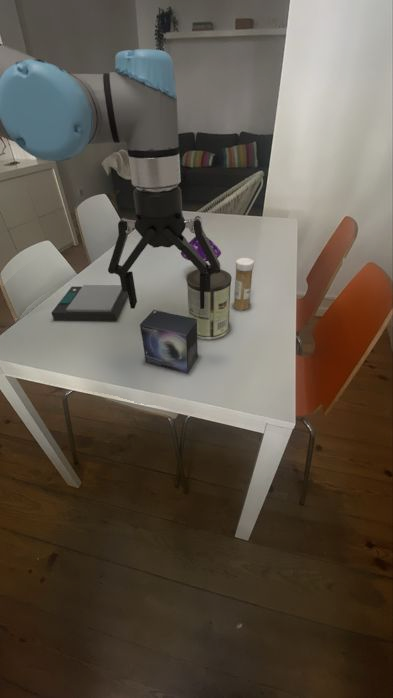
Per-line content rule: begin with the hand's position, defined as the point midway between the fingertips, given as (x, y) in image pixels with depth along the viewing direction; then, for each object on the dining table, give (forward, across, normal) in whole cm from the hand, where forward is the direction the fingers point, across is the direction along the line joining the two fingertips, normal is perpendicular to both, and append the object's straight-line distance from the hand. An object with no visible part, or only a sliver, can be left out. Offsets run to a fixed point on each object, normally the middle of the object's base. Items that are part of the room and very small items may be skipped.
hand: (168, 305), depth 62 cm
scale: (+14, +25, -23) cm, 37 cm away
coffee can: (+14, -8, -13) cm, 21 cm away
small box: (+14, 0, 0) cm, 14 cm away
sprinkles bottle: (+14, -17, -24) cm, 33 cm away
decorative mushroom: (+14, -5, -41) cm, 44 cm away
